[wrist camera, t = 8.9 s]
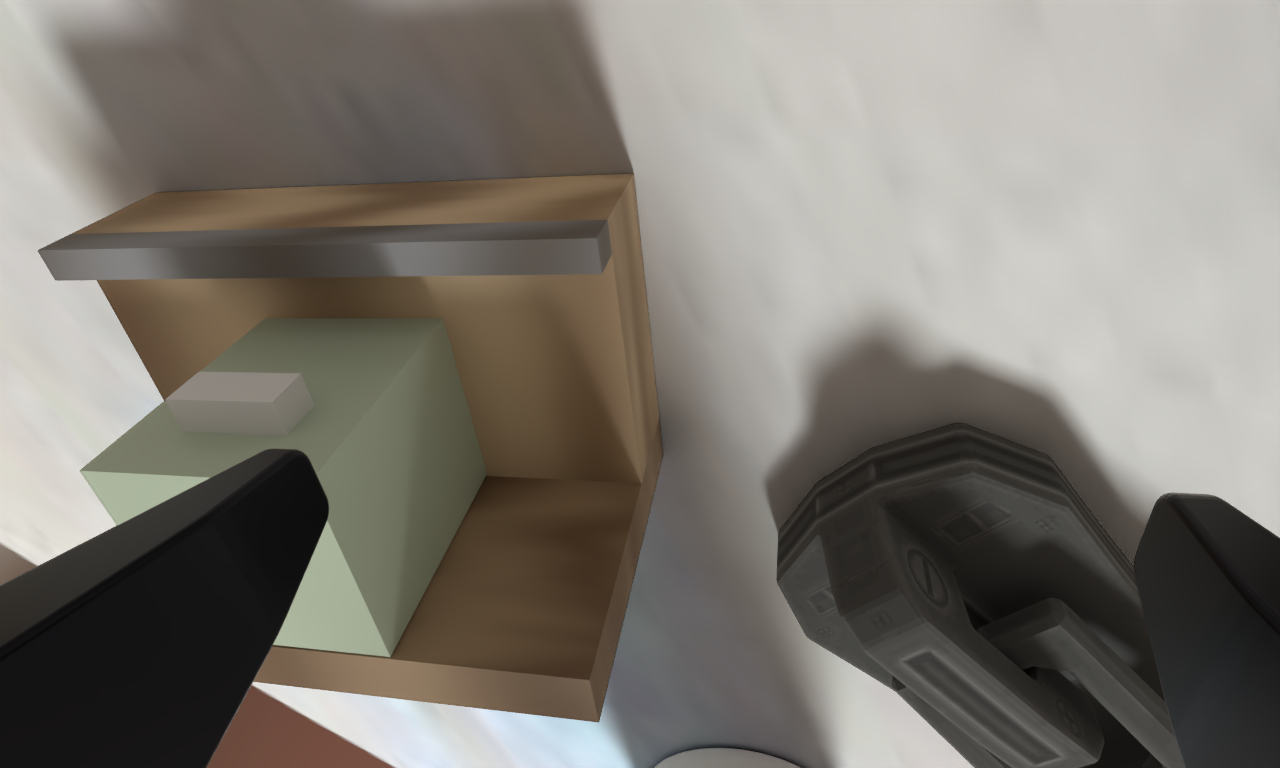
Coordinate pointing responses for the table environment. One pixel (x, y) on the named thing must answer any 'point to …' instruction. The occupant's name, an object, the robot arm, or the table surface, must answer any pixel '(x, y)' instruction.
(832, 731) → the table surface
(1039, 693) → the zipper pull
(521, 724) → the table surface
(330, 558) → the cabinet block
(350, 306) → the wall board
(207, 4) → the table surface
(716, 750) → the fruit juice
